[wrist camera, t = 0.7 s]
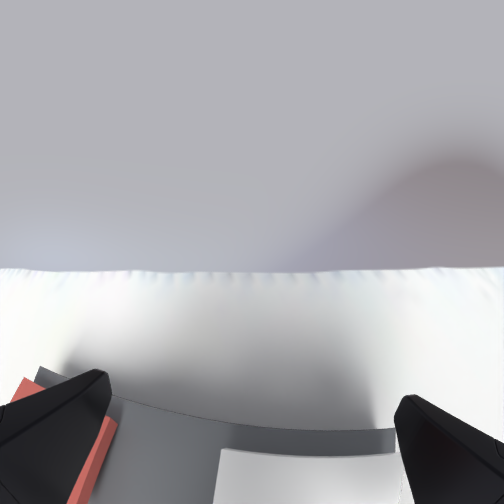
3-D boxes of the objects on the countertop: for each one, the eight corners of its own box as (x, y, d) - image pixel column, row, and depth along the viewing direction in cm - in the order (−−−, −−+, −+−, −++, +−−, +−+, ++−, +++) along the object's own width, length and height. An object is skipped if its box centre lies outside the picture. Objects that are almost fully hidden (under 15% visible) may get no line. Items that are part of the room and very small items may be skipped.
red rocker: (83, 515, 9) (72, 512, 9) (-3, 453, 11) (-13, 446, 10) (118, 424, 16) (110, 417, 15) (31, 384, 18) (23, 376, 17)
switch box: (362, 568, 9) (380, 584, 6) (34, 480, 14) (-1, 470, 11) (378, 437, 17) (399, 425, 14) (63, 383, 22) (35, 361, 19)
